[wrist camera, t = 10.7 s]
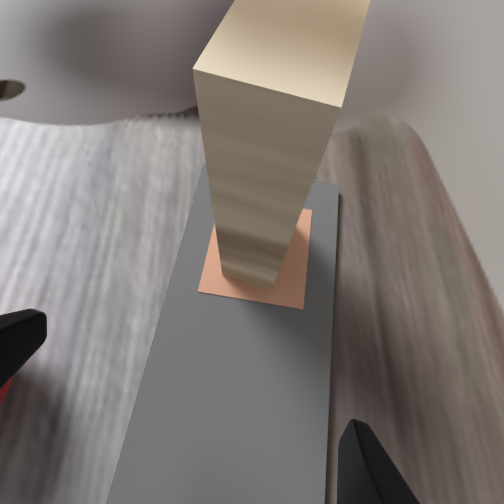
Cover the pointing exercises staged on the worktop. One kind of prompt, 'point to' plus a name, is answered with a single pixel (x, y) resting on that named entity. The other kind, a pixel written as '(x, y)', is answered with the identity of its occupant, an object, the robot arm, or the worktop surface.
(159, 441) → the mat
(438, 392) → the worktop surface
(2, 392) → the onion
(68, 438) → the worktop surface
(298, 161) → the cream block
